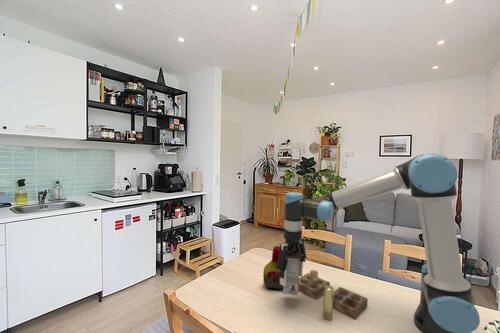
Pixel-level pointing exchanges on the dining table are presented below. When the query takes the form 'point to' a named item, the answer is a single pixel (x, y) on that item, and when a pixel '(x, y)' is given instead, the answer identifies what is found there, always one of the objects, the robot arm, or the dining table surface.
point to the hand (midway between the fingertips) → (291, 280)
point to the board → (312, 290)
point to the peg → (328, 303)
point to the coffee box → (292, 274)
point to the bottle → (272, 272)
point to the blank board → (348, 302)
